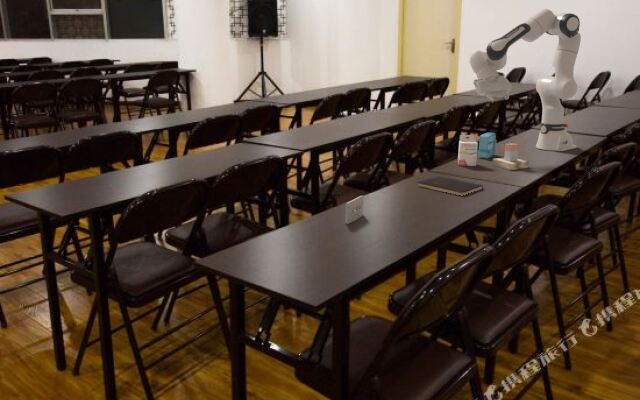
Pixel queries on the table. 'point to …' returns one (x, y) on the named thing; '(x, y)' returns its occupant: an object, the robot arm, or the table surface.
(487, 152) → the data package
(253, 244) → the table surface
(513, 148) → the block
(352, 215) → the cassette
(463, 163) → the ink cartridge box
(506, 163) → the birch stand
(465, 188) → the hardcover book
